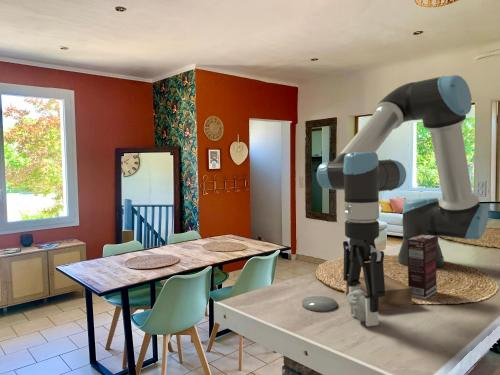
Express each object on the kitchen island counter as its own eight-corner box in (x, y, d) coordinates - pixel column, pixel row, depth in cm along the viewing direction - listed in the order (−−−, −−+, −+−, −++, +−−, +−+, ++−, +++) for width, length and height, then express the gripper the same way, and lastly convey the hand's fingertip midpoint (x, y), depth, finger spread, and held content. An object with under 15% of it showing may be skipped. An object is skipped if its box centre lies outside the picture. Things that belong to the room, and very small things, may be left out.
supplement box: (419, 288, 110) (419, 234, 109) (437, 292, 106) (437, 235, 105) (406, 296, 104) (406, 238, 103) (425, 300, 100) (424, 240, 99)
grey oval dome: (327, 297, 105) (327, 294, 105) (343, 308, 96) (343, 305, 96) (296, 301, 103) (296, 298, 103) (310, 313, 94) (310, 310, 94)
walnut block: (385, 292, 109) (385, 274, 108) (411, 307, 97) (411, 287, 97) (346, 296, 106) (346, 278, 106) (368, 312, 94) (368, 292, 94)
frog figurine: (352, 312, 93) (352, 284, 92) (382, 318, 89) (381, 289, 88) (343, 321, 88) (343, 292, 87) (374, 328, 84) (373, 297, 83)
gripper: (327, 215, 95) (329, 306, 97) (370, 227, 77) (372, 339, 78) (354, 213, 97) (355, 302, 99) (403, 224, 78) (404, 333, 80)
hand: (363, 318), depth 88 cm, fingers closed on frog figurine, 6 cm apart
